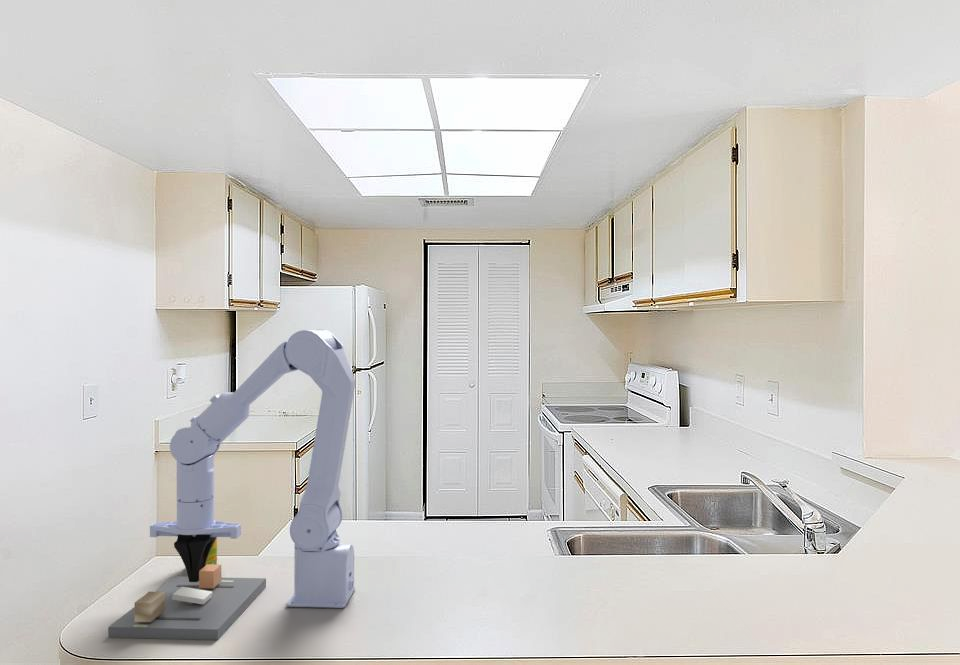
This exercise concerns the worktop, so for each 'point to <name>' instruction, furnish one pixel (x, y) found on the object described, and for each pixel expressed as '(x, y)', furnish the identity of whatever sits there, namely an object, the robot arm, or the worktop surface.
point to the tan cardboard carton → (149, 606)
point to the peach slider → (210, 576)
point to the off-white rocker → (192, 595)
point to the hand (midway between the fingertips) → (195, 579)
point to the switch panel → (193, 611)
